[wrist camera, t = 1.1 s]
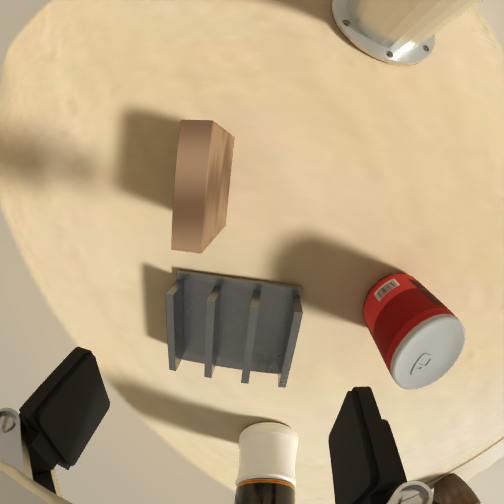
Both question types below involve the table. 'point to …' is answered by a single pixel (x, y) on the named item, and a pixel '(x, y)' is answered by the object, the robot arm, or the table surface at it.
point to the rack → (233, 323)
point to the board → (200, 184)
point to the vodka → (267, 464)
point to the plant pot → (454, 491)
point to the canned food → (412, 331)
